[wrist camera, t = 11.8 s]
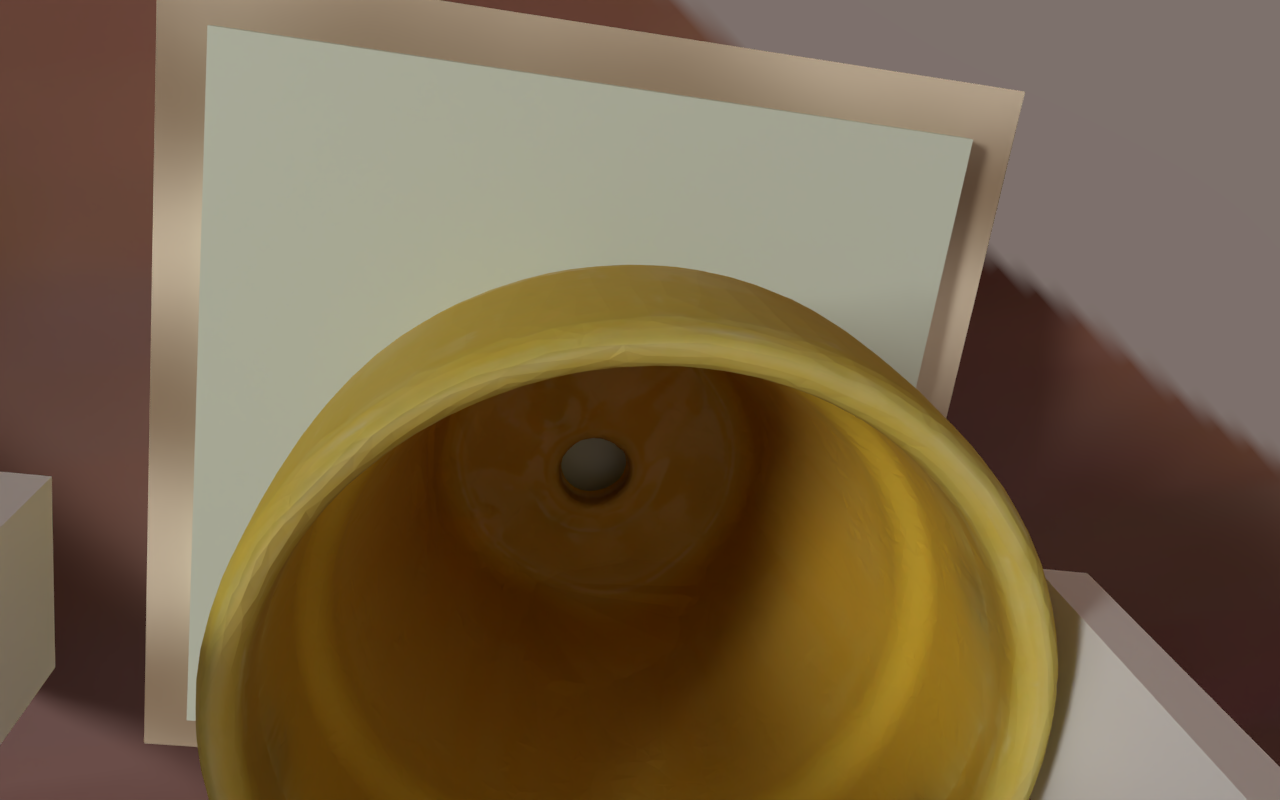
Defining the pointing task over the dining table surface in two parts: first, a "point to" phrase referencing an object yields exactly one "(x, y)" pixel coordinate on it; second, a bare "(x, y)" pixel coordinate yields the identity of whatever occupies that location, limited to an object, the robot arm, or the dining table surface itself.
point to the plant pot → (629, 570)
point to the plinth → (501, 222)
